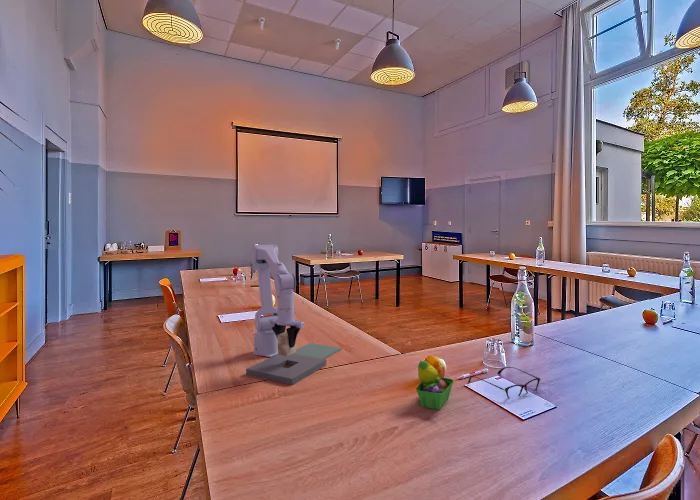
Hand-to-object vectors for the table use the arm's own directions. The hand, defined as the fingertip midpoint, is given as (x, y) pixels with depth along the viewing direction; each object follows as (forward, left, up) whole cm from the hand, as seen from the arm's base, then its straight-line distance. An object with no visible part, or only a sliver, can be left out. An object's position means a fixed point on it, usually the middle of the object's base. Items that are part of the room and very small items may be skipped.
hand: (286, 346), depth 131 cm
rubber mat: (-2, +20, -8) cm, 22 cm away
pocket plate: (0, 0, -8) cm, 8 cm away
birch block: (0, 0, -3) cm, 3 cm away
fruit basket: (+53, -1, -9) cm, 54 cm away
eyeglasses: (+69, +19, -9) cm, 72 cm away
